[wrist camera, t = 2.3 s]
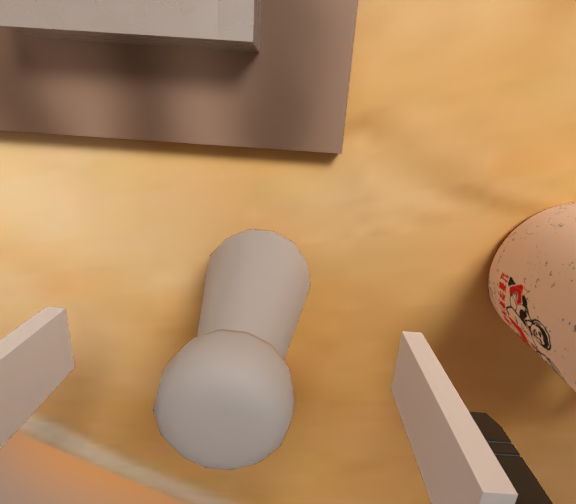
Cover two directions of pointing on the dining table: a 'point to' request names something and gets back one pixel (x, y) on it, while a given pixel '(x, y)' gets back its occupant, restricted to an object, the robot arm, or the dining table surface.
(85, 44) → the walnut board
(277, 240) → the salt shaker
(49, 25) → the metal collar
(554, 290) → the teacup with lid
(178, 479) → the dining table surface
